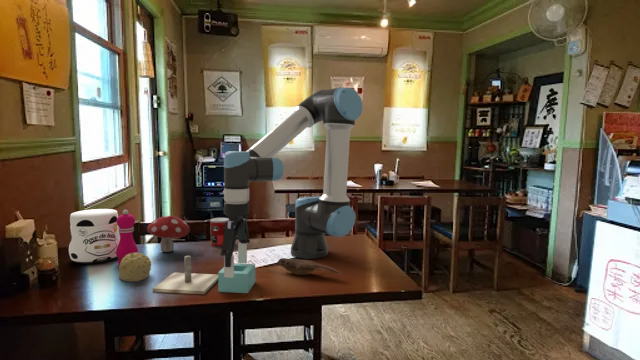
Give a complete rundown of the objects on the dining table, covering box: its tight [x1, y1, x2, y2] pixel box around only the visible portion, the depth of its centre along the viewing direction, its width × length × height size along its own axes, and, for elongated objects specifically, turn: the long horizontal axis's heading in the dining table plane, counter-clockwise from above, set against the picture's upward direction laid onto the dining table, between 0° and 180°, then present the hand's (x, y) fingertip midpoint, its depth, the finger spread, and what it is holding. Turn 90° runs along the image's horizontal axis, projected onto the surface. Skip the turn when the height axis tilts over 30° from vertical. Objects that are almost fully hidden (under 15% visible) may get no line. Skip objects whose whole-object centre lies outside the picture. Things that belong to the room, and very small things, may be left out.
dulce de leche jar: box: [68, 208, 120, 265], centre depth 147 cm, size 17×17×18 cm
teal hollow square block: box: [217, 262, 256, 294], centre depth 123 cm, size 9×9×6 cm
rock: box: [118, 252, 152, 282], centre depth 130 cm, size 10×11×10 cm
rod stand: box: [152, 255, 218, 295], centre depth 124 cm, size 16×14×9 cm
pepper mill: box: [116, 209, 139, 266], centre depth 142 cm, size 7×7×20 cm
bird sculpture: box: [272, 257, 342, 276], centre depth 134 cm, size 7×25×5 cm, turn 71°
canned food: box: [209, 217, 230, 247], centre depth 170 cm, size 8×8×11 cm
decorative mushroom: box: [146, 215, 191, 253], centre depth 158 cm, size 16×16×15 cm
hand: (236, 269), depth 122 cm, fingers open, 13 cm apart
